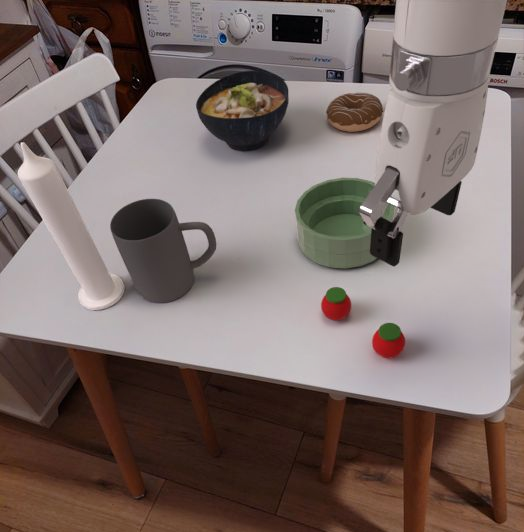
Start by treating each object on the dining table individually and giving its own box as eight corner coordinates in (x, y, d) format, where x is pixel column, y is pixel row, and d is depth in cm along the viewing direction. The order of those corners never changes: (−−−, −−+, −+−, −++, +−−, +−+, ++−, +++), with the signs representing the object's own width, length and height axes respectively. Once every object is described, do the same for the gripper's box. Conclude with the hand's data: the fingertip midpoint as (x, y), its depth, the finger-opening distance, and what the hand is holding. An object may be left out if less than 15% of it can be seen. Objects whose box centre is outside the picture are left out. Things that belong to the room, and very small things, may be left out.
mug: (133, 307, 76) (103, 245, 66) (140, 264, 81) (114, 201, 72) (224, 297, 75) (207, 233, 65) (225, 255, 80) (209, 190, 71)
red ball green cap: (385, 334, 67) (388, 313, 64) (410, 351, 65) (414, 330, 62) (364, 351, 66) (366, 331, 62) (389, 369, 64) (391, 349, 60)
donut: (344, 142, 95) (344, 122, 92) (316, 118, 101) (316, 98, 98) (393, 123, 97) (395, 102, 94) (363, 101, 103) (363, 81, 100)
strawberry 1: (324, 302, 72) (323, 281, 68) (353, 305, 71) (353, 284, 67) (319, 324, 69) (318, 303, 66) (348, 328, 68) (349, 306, 65)
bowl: (191, 160, 98) (177, 109, 90) (225, 113, 107) (216, 63, 99) (274, 169, 93) (268, 116, 85) (303, 119, 102) (300, 66, 94)
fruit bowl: (342, 198, 85) (342, 166, 80) (410, 235, 78) (415, 202, 73) (279, 241, 81) (275, 210, 76) (345, 285, 73) (346, 254, 68)
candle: (76, 287, 80) (-11, 138, 60) (119, 271, 81) (47, 119, 61) (84, 317, 76) (-7, 168, 56) (129, 299, 77) (56, 147, 57)
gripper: (416, 125, 34) (392, 298, 48) (543, 28, 41) (490, 205, 54) (330, 94, 38) (330, 264, 52) (459, 10, 45) (429, 180, 58)
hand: (412, 233), depth 53 cm, fingers open, 9 cm apart
